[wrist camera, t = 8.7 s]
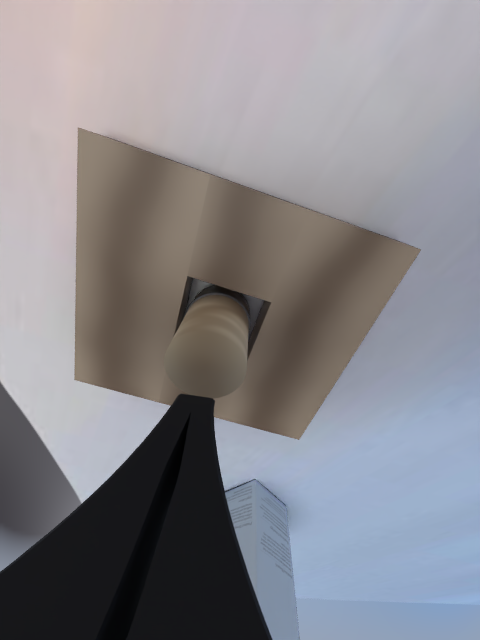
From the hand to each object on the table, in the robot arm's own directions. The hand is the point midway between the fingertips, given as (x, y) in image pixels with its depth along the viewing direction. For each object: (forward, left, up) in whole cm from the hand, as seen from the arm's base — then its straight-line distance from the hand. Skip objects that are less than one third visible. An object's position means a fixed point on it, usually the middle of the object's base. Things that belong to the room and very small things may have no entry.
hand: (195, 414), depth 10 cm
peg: (0, 0, -10) cm, 10 cm away
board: (0, 0, -10) cm, 10 cm away
